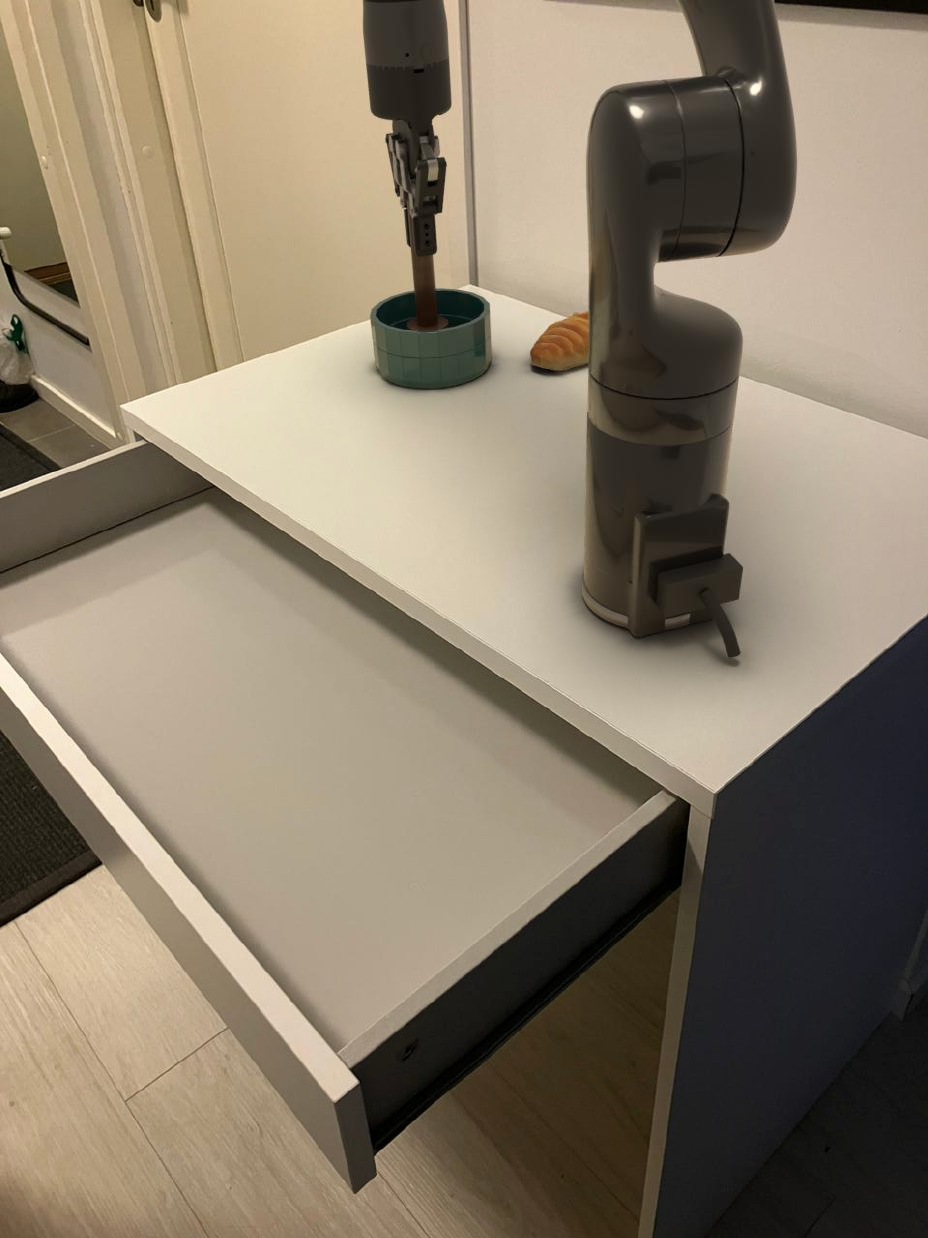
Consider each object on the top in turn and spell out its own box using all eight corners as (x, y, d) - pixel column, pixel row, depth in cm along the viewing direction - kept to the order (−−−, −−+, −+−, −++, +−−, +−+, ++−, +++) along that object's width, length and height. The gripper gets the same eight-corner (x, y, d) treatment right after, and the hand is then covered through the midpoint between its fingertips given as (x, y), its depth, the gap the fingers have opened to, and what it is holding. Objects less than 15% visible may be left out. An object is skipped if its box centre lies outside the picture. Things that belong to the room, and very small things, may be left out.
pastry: (565, 381, 102) (565, 345, 100) (513, 366, 106) (512, 331, 103) (618, 350, 108) (619, 315, 105) (566, 337, 111) (566, 302, 109)
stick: (454, 340, 106) (445, 200, 97) (413, 347, 105) (401, 206, 96) (442, 326, 109) (433, 189, 101) (403, 332, 108) (390, 195, 100)
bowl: (508, 377, 104) (506, 320, 100) (392, 398, 101) (386, 340, 98) (471, 334, 113) (468, 281, 109) (365, 353, 110) (358, 299, 107)
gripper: (349, 48, 96) (369, 236, 106) (385, 71, 85) (403, 277, 95) (426, 40, 97) (438, 226, 108) (470, 61, 86) (479, 265, 97)
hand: (422, 249), depth 101 cm, fingers closed on stick, 2 cm apart
